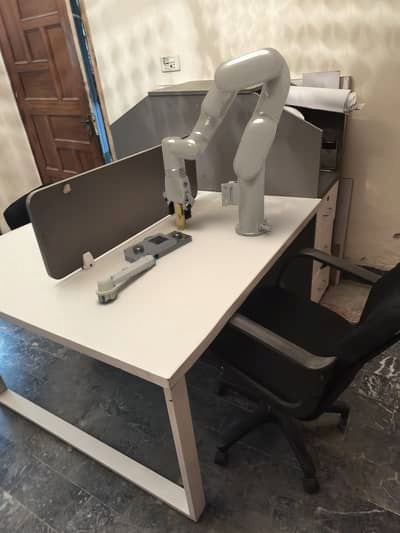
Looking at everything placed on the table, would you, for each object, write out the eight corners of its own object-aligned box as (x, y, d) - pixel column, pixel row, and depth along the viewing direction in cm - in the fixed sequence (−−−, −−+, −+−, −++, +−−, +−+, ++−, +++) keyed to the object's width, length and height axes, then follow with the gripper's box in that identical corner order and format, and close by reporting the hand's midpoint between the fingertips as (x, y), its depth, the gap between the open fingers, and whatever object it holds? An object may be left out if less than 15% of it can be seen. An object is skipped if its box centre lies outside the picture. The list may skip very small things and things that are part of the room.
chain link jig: (175, 235, 142) (173, 223, 139) (192, 240, 136) (190, 228, 134) (125, 260, 127) (122, 247, 125) (141, 267, 121) (139, 254, 119)
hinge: (221, 206, 165) (220, 184, 160) (224, 202, 169) (222, 181, 164) (252, 206, 161) (252, 184, 156) (254, 202, 166) (253, 180, 161)
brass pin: (188, 227, 147) (185, 199, 141) (181, 231, 144) (178, 202, 138) (182, 225, 149) (178, 197, 143) (174, 229, 147) (171, 200, 141)
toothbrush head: (156, 254, 120) (102, 280, 100) (159, 273, 122) (106, 303, 102) (144, 253, 123) (88, 278, 103) (146, 271, 125) (93, 300, 105)
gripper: (199, 172, 132) (202, 217, 141) (167, 166, 143) (172, 209, 152) (184, 178, 128) (189, 224, 137) (152, 171, 139) (158, 214, 147)
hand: (180, 216), depth 144 cm, fingers open, 8 cm apart
